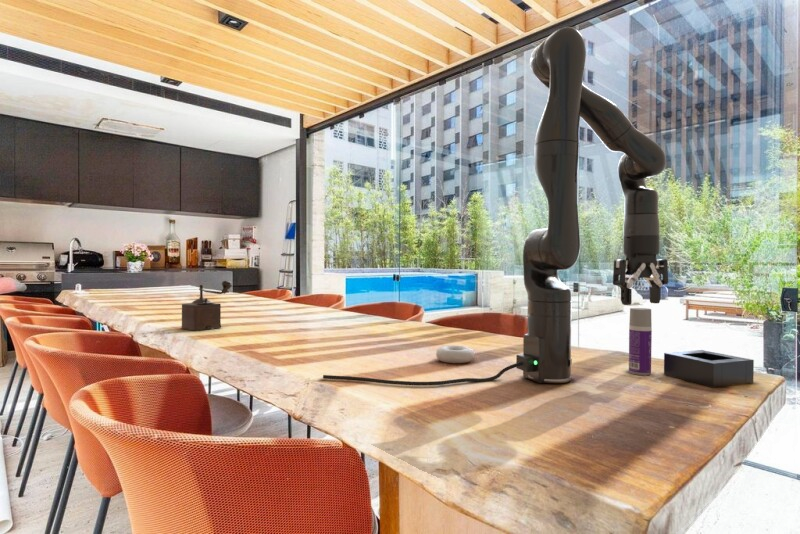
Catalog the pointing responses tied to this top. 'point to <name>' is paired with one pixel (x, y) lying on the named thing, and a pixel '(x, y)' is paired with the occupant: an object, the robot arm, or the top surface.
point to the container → (640, 341)
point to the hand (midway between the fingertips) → (640, 303)
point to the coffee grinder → (203, 311)
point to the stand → (709, 368)
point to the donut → (455, 354)
